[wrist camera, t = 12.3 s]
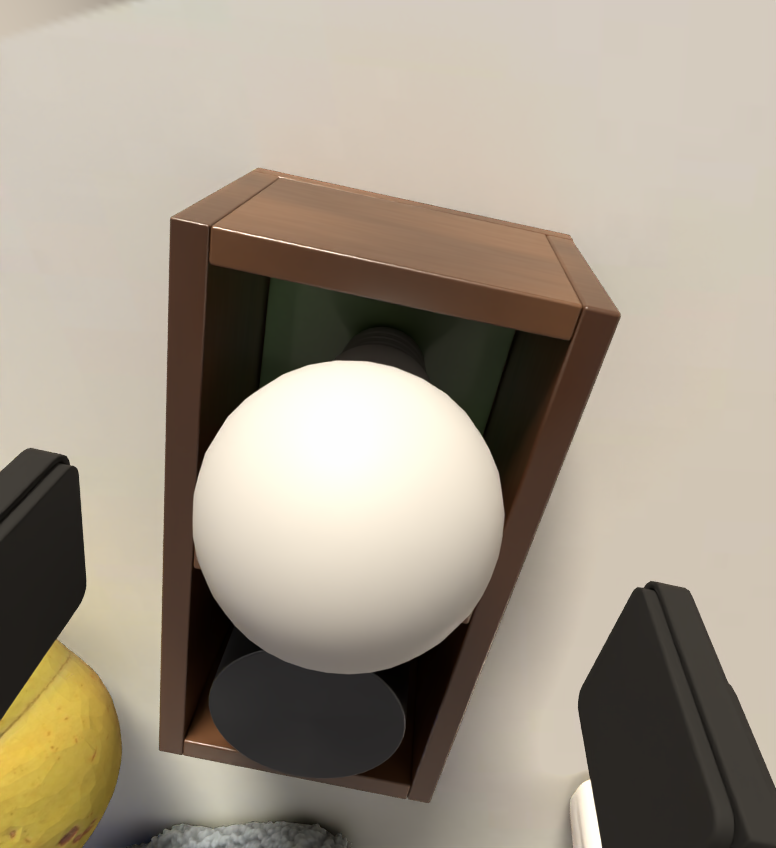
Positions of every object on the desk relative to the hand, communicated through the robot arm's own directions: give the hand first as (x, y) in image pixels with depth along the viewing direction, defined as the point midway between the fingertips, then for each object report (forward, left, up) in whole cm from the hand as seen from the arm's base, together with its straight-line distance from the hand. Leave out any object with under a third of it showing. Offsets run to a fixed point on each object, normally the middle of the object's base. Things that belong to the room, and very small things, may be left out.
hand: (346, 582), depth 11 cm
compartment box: (+5, 0, -11) cm, 12 cm away
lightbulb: (0, 0, -11) cm, 11 cm away
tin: (+9, 0, -11) cm, 14 cm away
